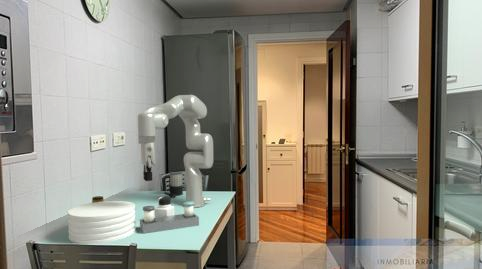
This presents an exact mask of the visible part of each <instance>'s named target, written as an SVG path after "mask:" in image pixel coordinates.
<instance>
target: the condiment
mask: <svg viewBox="0 0 482 269" xmlns="http://www.w3.org/2000/svg"><path fill="white" fill-rule="evenodd" d="M91 200H92V201H91V203H95V202H103V201H104V196H100V195H98V196H97V195H96V196H93V197H92V198H91Z"/></svg>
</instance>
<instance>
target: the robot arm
mask: <svg viewBox="0 0 482 269" xmlns="http://www.w3.org/2000/svg"><path fill="white" fill-rule="evenodd" d="M207 114H208V109H207V106H206V104H205V103H204V102H203V101H202V100H201V99H199V97H198V96H196V95H194V94H179V95H176V96H174V97H172V98H170V99H169V100H168V101H166V102H165V103H161V104H158V105H156V106H153V107H150V108H147V109H146V110H144V111H143V112H142V113H138V115H137V129H138V130H137V134H138V135H137V136H138V139H137V142H138V145H140V159H141V160H140V162H141V164H142V165H143V180H144V181H145V182H151V181H153V166H155V165H156V151H155V144H156V130H157V129H164V128H166V127H167V126H168V124H169V120H170V119H174V118H175V117H176V116H179V118H180V119H181V120H182V122H183V123H184V126H185V144H186V145H185V146H186V148H187V149H188V150H196V151H189V152H186V153H185V154H184V155H183V165H184V169H185V172H184V173H185V198H186V199H185V202H186V201H193V202H194V205H193V209H195V208H202V207H204V206H206V202H211V197H204V196H203V174H202V172H201V171H200V169H205V170H206V169H211V168H212V167H213V164H214V139H213V136H212V135H211V134H209V133H206V132H205V133H201V123H200V122H199V120H198V119H204V118H205V117H206V116H207ZM197 150H199V151H197ZM200 150H201V151H200Z"/></svg>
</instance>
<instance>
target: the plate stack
mask: <svg viewBox="0 0 482 269" xmlns="http://www.w3.org/2000/svg"><path fill="white" fill-rule="evenodd" d="M135 209H136V204H135V203H134V202H130V201H125V200H124V201H123V200H107V201H106V200H105V201H104V200H103V202H95V203H92V202H88V203H85V204H81V205H78V206H77V205H76V206H74V207H71V208H70V209H69V210H68V211H67V216H68V217H67V222H68V223H67V227H68V240H69V241H71V242H72V243H76V244H82V245H92V244H93V245H94V244H95V243H96V244H103V242H105V243H110V242H109V241H111V242H114V240H115V241H118V239H119V240H123V239H125V238H127V236H128V237H129V236H131V235H133V234H134V233H135V232H136V230H137V229H136V228H137V227H136V210H135Z"/></svg>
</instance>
